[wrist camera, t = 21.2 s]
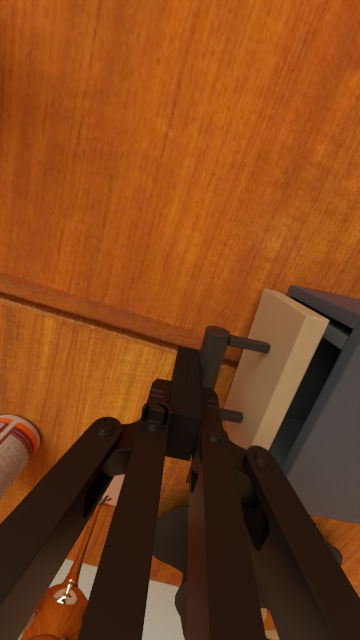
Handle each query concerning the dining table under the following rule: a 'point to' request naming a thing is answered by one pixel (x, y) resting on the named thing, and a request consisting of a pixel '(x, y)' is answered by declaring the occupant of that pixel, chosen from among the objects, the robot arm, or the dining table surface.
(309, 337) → the drawer
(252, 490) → the robot arm
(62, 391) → the dining table surface
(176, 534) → the casserole
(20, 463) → the pill bottle
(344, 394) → the cabinet
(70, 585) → the wineglass
